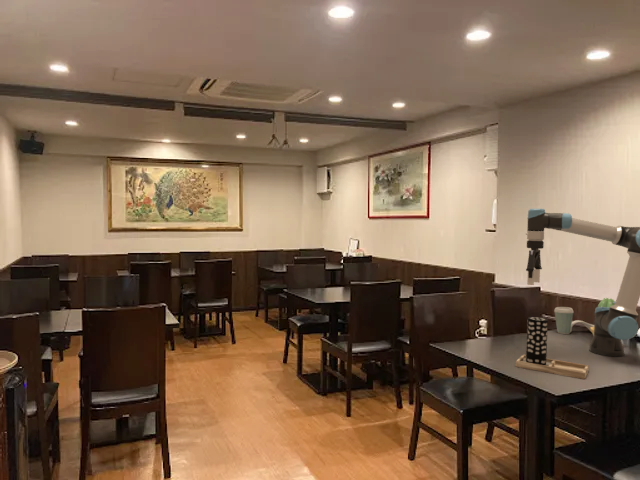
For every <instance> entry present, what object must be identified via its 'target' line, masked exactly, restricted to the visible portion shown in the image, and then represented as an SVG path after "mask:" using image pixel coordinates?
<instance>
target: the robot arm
mask: <svg viewBox="0 0 640 480" xmlns="http://www.w3.org/2000/svg"><path fill="white" fill-rule="evenodd" d="M545 229H549V230H555V231H561V232H565V233H569V234H575V235H580V236H584V237H587V238H588V237H589V238H593V239H598V240H601V241H607V242H611V244H613V245H616V246H619V247H623V248H626V249H627V250H626V251H627V252H626V253H627V254H628V261H627V263H626V267H625V271H624V273H623V277H622V281H621V283H620V287H619V290H618V293H617V297H616V300H615V301H616V303H615V305H613V306H611V307H598V306H596V307H595V309H594V310H595V311H594V321H593V322H594V324H593V325H594V336H593V338H592V339H591V342H590V344H589V349H588V350H589V352H591V353H594V354H596V355H601V356H608V357H624V356H625V348H624V345H623V342H622V341H627V340H628V341H629V340H631V339H633V338H634V337H635V336H636V335H637V334H638V332H639V324H638V322H637V321H638V316H639V313H638V312H637V308H638V307H637V306H638V304H639V301H640V226H623V225H617V226H612V225H607V224H602V223H598V222H593V221H588V220H583V219H578V218H573V217H572V214H571V213H569V212H568V213H566V212H562V213H561V212H546V209H545V208H529V209H528V214H527V231H526V233H525V235H526V239H527V240H526V248H527V249H530V250H529V251H528V260H527V266H526V268H525V271H526V272H527V280H526V281H527V285H528V286H534V284H535V283H540V280H541V279H540V277H541V275H540V274H541V270H542V269H543V267H542V263H541V262H542V261H541V250H542V249H544V246H545V245H544V244H545V242H544V241H543V240H545Z"/></svg>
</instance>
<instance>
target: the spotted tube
mask: <svg viewBox="0 0 640 480" xmlns="http://www.w3.org/2000/svg"><path fill="white" fill-rule="evenodd" d="M548 325H549V319H547V318H545V317H539V316H538V317H537V316H529V317H527V322H526V326H527V327H526V328H527V329H526V345H525V346H526V348H525V349H526V350H525V351H526V352H525V355H526V362H528V363H533V364H539V365H546V358H547V355H548V353H547V349H548V329H549V328H548Z"/></svg>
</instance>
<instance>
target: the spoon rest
mask: <svg viewBox="0 0 640 480" xmlns="http://www.w3.org/2000/svg"><path fill="white" fill-rule="evenodd" d="M577 324H582V325H583V326H585V327H586V328H587V329H588V330H589V331H590V332H591V329H590V327H594V324H592V323H588V322H585V321H583V320H578V319H577V320H572V323H571V329H570V333H572V329H573V326H574V325H577Z"/></svg>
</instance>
